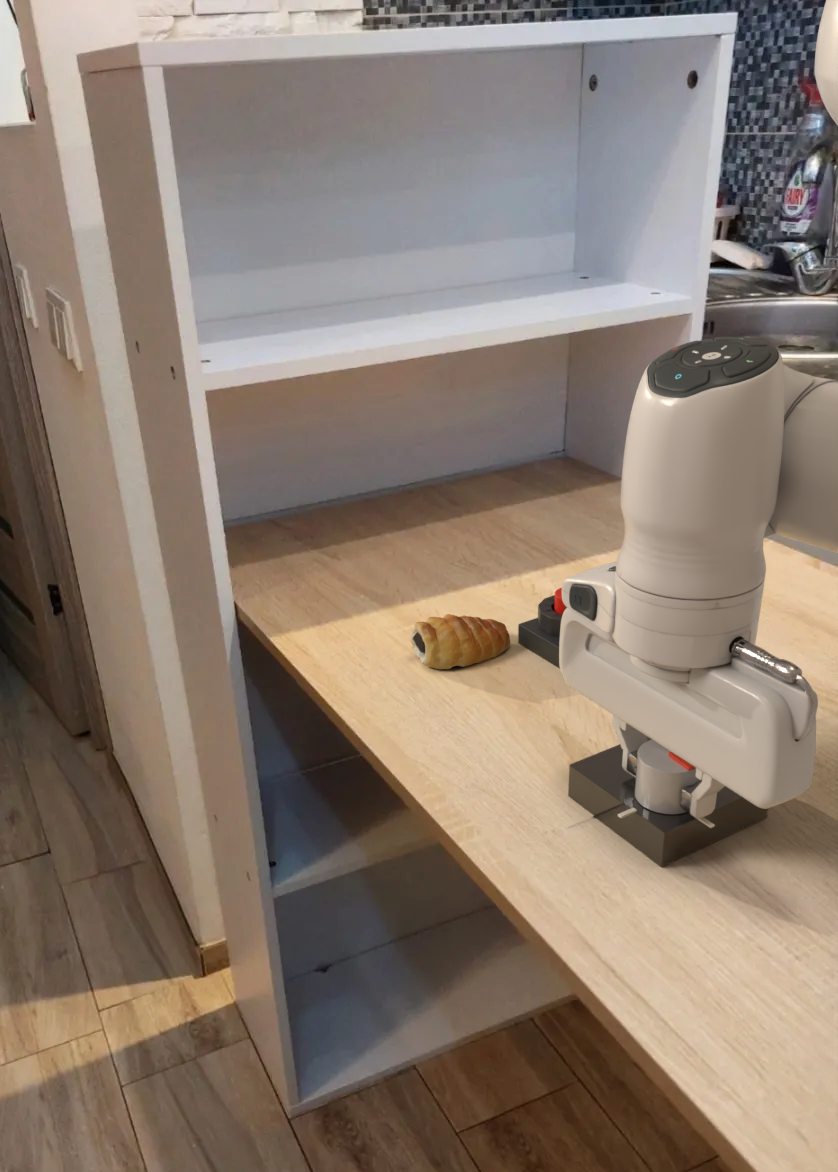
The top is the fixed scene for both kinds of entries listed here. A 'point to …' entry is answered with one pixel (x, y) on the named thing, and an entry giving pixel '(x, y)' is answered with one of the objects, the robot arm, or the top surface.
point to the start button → (559, 602)
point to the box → (543, 632)
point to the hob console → (652, 833)
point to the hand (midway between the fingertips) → (666, 790)
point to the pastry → (458, 640)
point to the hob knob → (662, 778)
